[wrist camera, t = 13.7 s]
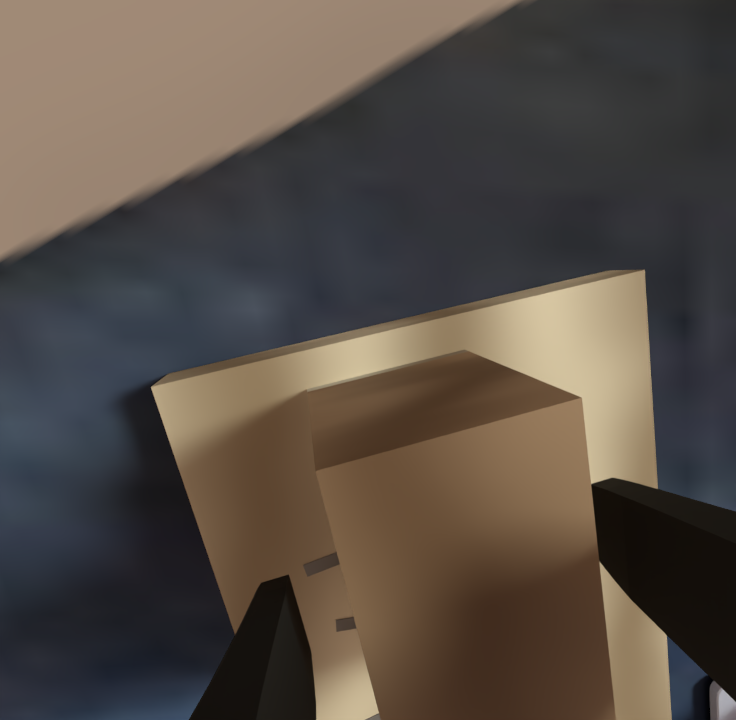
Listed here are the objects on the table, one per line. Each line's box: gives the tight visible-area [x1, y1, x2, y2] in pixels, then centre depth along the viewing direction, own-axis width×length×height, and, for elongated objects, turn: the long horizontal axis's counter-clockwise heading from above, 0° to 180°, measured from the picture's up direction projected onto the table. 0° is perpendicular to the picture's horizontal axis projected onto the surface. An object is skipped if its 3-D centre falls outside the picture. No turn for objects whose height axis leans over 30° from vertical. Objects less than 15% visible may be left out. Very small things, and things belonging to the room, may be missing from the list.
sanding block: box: [307, 350, 616, 720], centre depth 10 cm, size 4×8×5 cm, turn 12°
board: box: [151, 270, 672, 720], centre depth 15 cm, size 14×24×2 cm, turn 12°
